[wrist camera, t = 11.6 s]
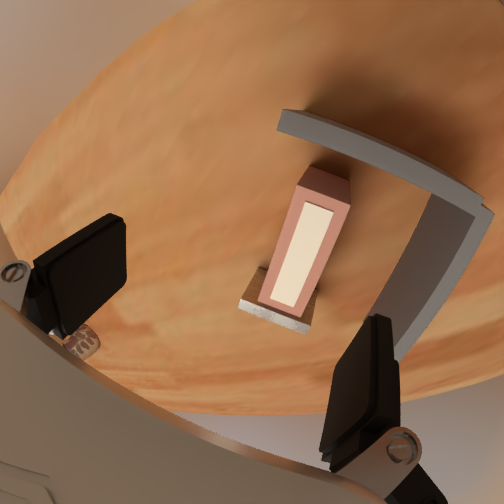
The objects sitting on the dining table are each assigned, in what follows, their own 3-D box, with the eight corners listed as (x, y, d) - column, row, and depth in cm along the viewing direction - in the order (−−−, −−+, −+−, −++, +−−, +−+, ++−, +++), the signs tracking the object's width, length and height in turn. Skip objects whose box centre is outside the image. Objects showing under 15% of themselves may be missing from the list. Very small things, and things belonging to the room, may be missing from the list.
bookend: (258, 267, 38) (240, 298, 32) (317, 290, 37) (310, 325, 31) (247, 300, 41) (230, 333, 35) (302, 321, 40) (292, 357, 34)
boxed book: (309, 165, 30) (296, 185, 23) (348, 180, 30) (350, 206, 22) (277, 258, 36) (256, 302, 29) (311, 271, 36) (300, 318, 28)
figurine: (78, 318, 58) (45, 350, 47) (102, 337, 58) (69, 372, 47) (78, 334, 61) (48, 365, 51) (99, 352, 61) (70, 385, 51)
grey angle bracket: (303, 110, 28) (282, 109, 18) (453, 175, 26) (498, 207, 16) (250, 278, 39) (219, 333, 29) (373, 324, 37) (375, 389, 27)
